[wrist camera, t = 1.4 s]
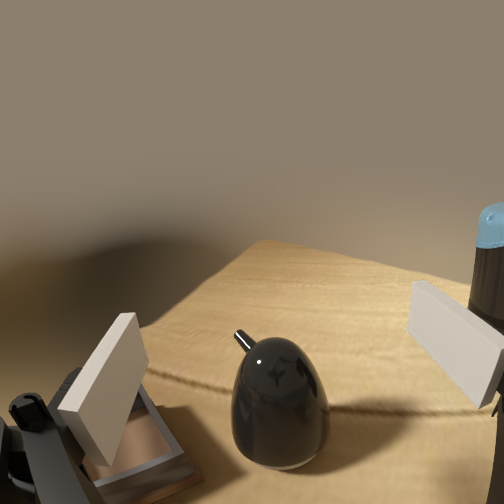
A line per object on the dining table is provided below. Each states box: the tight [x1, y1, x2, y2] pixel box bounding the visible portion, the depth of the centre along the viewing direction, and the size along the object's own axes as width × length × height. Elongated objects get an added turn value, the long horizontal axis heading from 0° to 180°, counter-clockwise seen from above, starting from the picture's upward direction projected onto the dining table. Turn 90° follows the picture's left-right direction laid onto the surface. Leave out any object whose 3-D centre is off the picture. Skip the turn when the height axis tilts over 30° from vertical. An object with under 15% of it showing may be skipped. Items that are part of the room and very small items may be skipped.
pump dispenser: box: [231, 330, 331, 470], centre depth 27 cm, size 10×10×15 cm
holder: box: [82, 384, 204, 504], centre depth 27 cm, size 15×15×6 cm
